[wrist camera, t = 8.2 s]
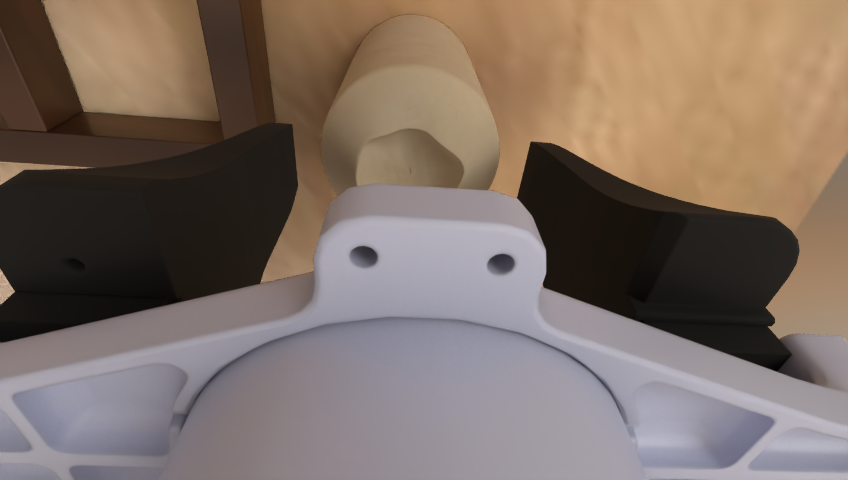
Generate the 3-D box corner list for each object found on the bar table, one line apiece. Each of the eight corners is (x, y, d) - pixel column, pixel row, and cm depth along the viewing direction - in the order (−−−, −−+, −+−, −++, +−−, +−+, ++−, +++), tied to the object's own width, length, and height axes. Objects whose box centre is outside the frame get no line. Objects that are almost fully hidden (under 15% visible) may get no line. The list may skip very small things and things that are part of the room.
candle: (464, 1, 18) (502, 63, 10) (476, 124, 22) (513, 244, 14) (338, 25, 19) (281, 102, 11) (369, 142, 22) (342, 269, 14)
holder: (279, 155, 23) (265, 179, 20) (-133, 127, 21) (-193, 149, 19) (247, -109, 16) (222, -114, 14) (-340, -171, 15) (-464, -187, 13)
